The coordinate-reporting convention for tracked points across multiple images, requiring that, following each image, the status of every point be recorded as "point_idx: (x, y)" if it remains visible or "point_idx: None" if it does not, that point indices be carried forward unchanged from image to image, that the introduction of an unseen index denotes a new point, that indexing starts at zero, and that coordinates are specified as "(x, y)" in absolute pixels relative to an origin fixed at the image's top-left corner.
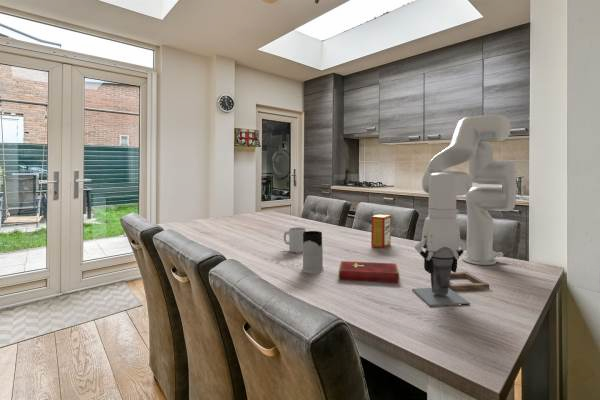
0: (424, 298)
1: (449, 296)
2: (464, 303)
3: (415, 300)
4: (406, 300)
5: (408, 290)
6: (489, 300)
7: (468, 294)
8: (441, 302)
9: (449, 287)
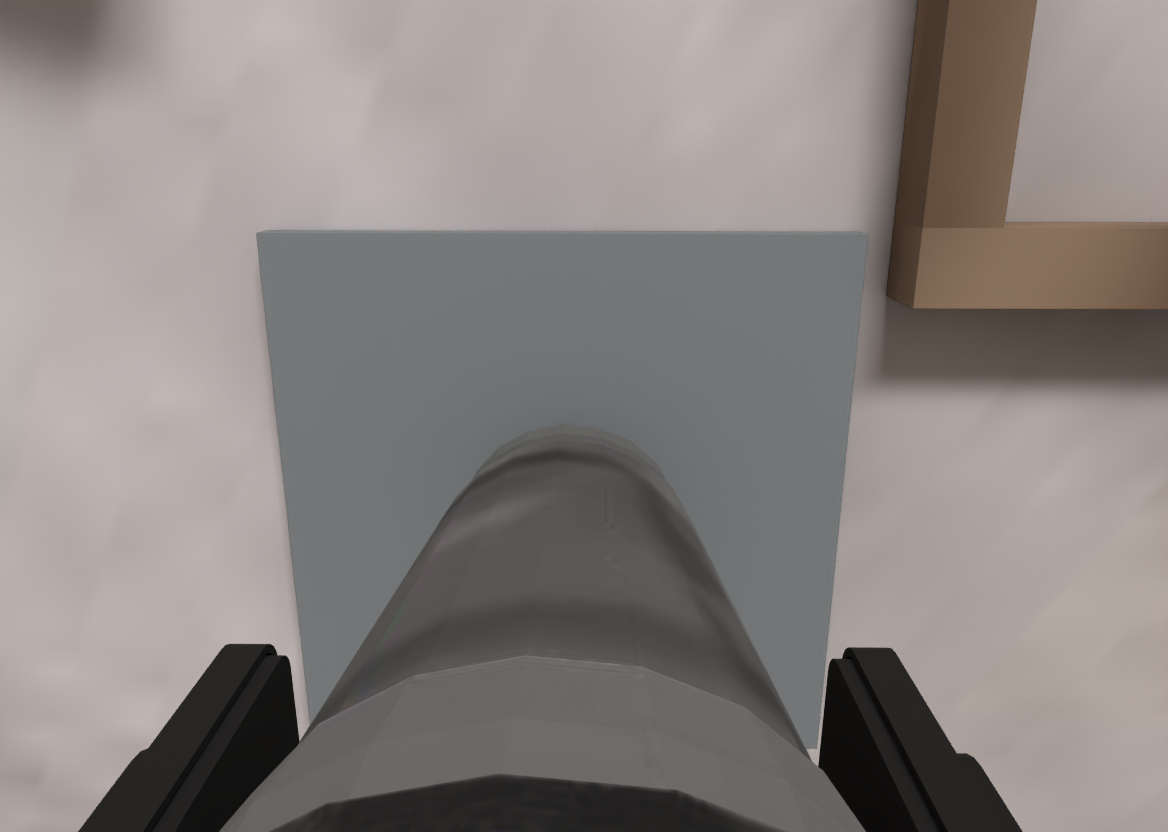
0: (312, 590)
1: None
2: None
3: (206, 562)
4: (88, 551)
5: (209, 220)
6: (1138, 647)
7: (1022, 454)
8: None
9: (902, 220)
